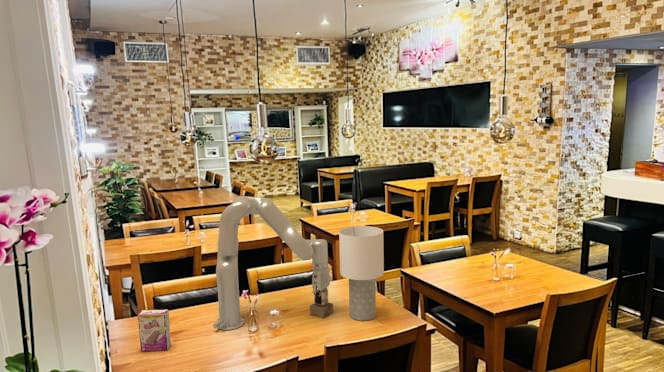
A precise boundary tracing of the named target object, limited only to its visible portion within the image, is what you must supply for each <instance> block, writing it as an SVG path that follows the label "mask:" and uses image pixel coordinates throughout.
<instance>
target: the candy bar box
mask: <svg viewBox="0 0 664 372" xmlns="http://www.w3.org/2000/svg"><path fill="white" fill-rule="evenodd" d="M137 320H138V330H139V342H140V343H139V344H140V351H141V352H142V353H143V352H162V351H164V352H165V351H168V350H170V347H171V345H172V342H171V341H172V340H171V328H170V325H171V324H170V314H169V309H144V310H143V309H142V310H141V311H140V312H139V313H138V315H137Z"/></svg>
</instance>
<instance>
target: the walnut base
mask: <svg viewBox="0 0 664 372" xmlns="http://www.w3.org/2000/svg"><path fill="white" fill-rule="evenodd" d="M309 313H310V314H309V315H310V316H313V317H315V316H316V317H315V318H318V319H321V320H325V319H326V318H327V317H329V316H331V315H333V314H334V303H333V302H329V301H328V302H327V303H326V304H325V305H319V304H314V303H312V304H310V305H309ZM330 314H331V315H330Z"/></svg>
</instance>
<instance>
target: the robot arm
mask: <svg viewBox="0 0 664 372" xmlns="http://www.w3.org/2000/svg"><path fill="white" fill-rule="evenodd" d="M248 215H259V217H260V218H261V219H263V221H264V222H265V223H266V224H267V225H268V226H269V228H271V229H272V230H273V232H275V233H276V234H277V236H278V237H279V238H280V239H281V240H282V241H283V242H284V243H285V244H286V245H287V246H288V247H289V249H290V250H291V251H292V252H293V253H294V254H295V255H296V256H297V257H298V259H300V260H303V261H308V260H310V259H311V264H312V278H311V286H312V287H311V288H312V292H311V293H313V297H314V296H315V303H316V304H322V300H321V291H322V290H324V289H327V290H328V287H329V286H331V285H330V284H331V280H330V277H331V276H330V270H329V257H328V256H329V253H328V252H329V251H328V241H327V240H326V239H323V238H318V239H305V238H304V237H303V236H302V235H301V234H300V232H299V231H298V230H297V229H296V227H295V225H294V224H293V223H292V221H291V220H290V219H289V218H288V217H287V216H286V215H285V214H284V213H283V212H282V211H281V210H280V208H279V207H278V206H277V205H276V204H275V203H274V201H273V200H272V199H270V198H267V197H260V196H248V195H240V196H237V197H235V198H234V199H233V201H232V203H231V204H229V205H228V206H227V207H226V208H224V209H223V211H222V212H221V215H220V217H219V223H218V224H219V226H218V238H217V245H216V246H217V259H216V261H217V262H216V268H215V276H216V287H217V300H218V311H219V317H218V319H217V321H216V322H215V323H213V324H212V326H213V327H212V328H214V329H217V328H218V329H219V330H222V331H232V330H235V329H236V330H237V329H239V328H240V327H243V325H244V324H245V319H244V318H243V317H241V304H240V303H241V302H240V289H239V287H240V286H239V269H238V268H239V267H238V266H239V263H238V261H239V260H238V259H239V257H238V256H239V255H238V254H239V237H238V236H239V223H240V221H241V220H242V219H244V218H245V217H247V216H248ZM317 291H319V293H318V292H317Z"/></svg>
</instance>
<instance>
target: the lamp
mask: <svg viewBox="0 0 664 372" xmlns="http://www.w3.org/2000/svg"><path fill="white" fill-rule="evenodd" d="M338 236H339V239H338V240H339V241H338V243H339V274H340V276H341V277H343V278H345V279H348V303H349V306H348V307H349V310H348V311H349V317H350V318H351V319H352V320H354V321H357V320H359V321H358V322H366V320H368V321H371V320H373V319H375V318H376V315H377V313H376V312H377V308H376V304H377V303H376V302H377V301H376V292H377V291H376V279H378V278H380V277H382V276H384V274H385V273H384V272H385V271H384V270H385V269H384V268H385V264H384V263H385V262H384V261H385V258H384V257H385V256H384V254H385V253H384V248H385V247H384V244H385V243H384V230H383V228H380V227H376V226H369V225H355V226H348V227H345V228H344V227H343V228H342V229H340V230H339V231H338Z"/></svg>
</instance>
